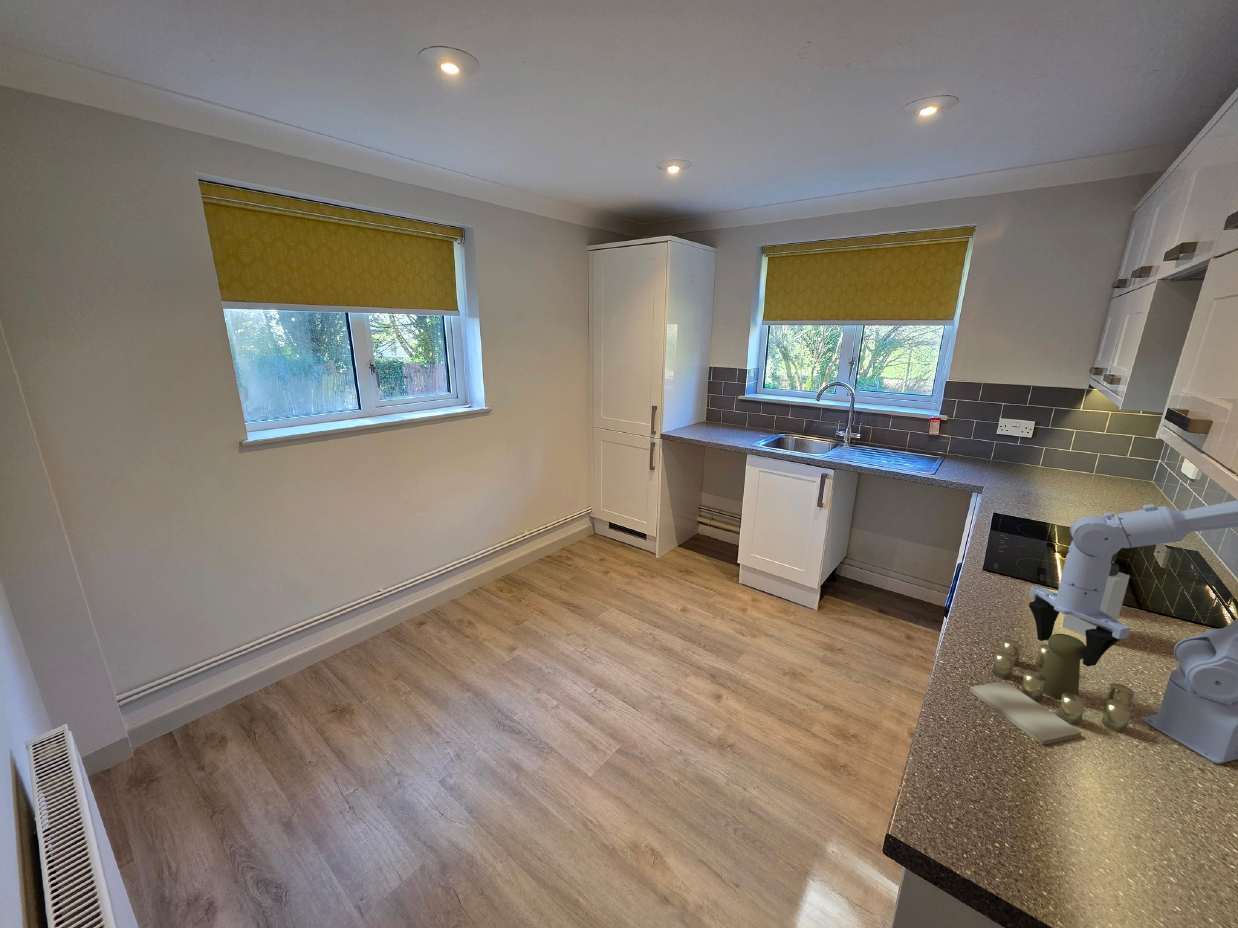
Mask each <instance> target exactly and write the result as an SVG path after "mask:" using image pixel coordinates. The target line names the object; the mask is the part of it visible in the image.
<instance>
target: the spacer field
mask: <svg viewBox="0 0 1238 928" xmlns="http://www.w3.org/2000/svg"><path fill="white" fill-rule="evenodd" d="M1038 647H1039V648H1038V652H1037V656H1036V660H1035V665H1036V666H1037V667H1038V668H1040V669H1042V667H1043V665H1044V663H1045V660H1046V658H1047V656H1048V654H1049V652H1050V649H1049V647H1048V644H1044V643H1043V644H1039V646H1038ZM1022 648H1023V645H1022V643H1020V642H1018V641H1016V640H1013V639H1007V638H1006V639H1005V638H1004V639H1003V641H1002V644H1001V650H1000V651H996V652H995V655H994V659H993V663H992V667H991V673H992V674H993V675H994V676H995V677H997V678H999V679H1003V680H1010V679H1011V678H1012V676H1013V670H1014V667H1015V666H1018V665H1019V662H1020V658H1021V653H1022ZM1045 682H1046V679H1045V677H1043V676H1042V675H1040V674H1039V673H1038V672H1035V671H1031V670H1027V671H1024V674H1023V678H1022V682H1021V687H1020V690H1019V691H1020V692H1022V693H1023V694H1025V695H1026V696H1028V697H1029V698H1031V699H1032V700H1034V701H1035V702H1040V701H1042V698H1043V695H1044V693H1043V691H1044V687H1045ZM1109 685H1110V686H1109V688H1108V692H1107V695H1106V700H1105V703H1104V705H1105V707H1104V710H1103V714H1102V718H1101V721H1100V722H1101V724H1102V725H1103V727H1105V728H1107V729H1108V730H1110V731H1112V732H1114V733H1119V734H1124V733H1127V729H1128V726H1129V723H1130V720H1131V716H1132V713H1133V709H1132V708H1131V707H1132V704H1133V701H1134V697H1135V691H1134V690H1133V689H1131V687H1128V686H1126V685H1123V684H1120V683H1118V682H1117V683H1116V682H1113V683H1110V684H1109ZM1059 701H1060V702H1059V705H1058V709H1057V715H1056V716H1058V717H1059V718H1061V719H1062V720H1064V721H1065V722H1067V723H1068V724H1070V725H1071V726H1079V725H1081V724H1082V720H1083V716H1084V713H1085V708H1086V705H1087V701H1086V700H1085V699H1084V698H1082V697H1081V696H1079V695H1078V696H1077V695H1075V694H1072V693H1063V694H1062V697H1061V700H1059Z"/></svg>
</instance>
